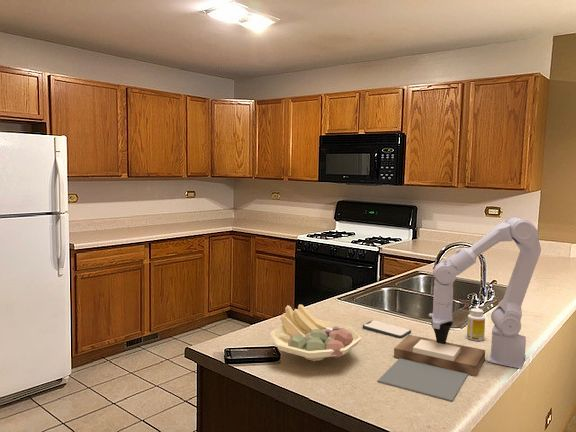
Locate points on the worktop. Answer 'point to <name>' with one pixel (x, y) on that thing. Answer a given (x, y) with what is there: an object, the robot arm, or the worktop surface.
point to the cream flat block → (436, 350)
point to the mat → (424, 379)
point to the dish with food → (313, 335)
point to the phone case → (386, 329)
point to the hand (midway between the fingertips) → (441, 344)
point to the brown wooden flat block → (464, 362)
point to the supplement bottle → (476, 325)
